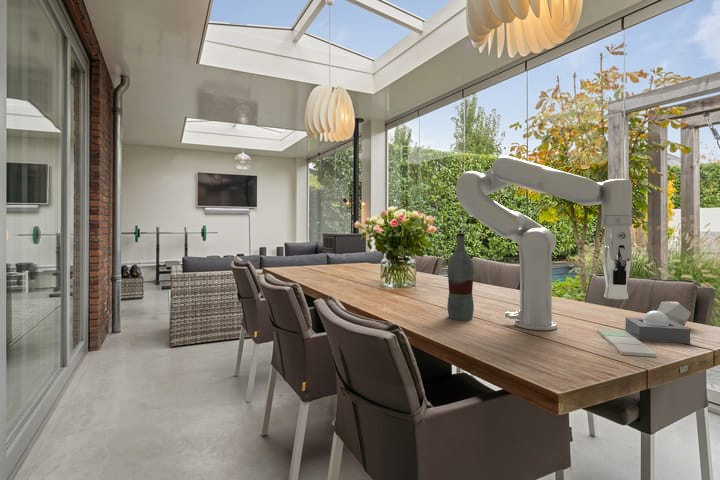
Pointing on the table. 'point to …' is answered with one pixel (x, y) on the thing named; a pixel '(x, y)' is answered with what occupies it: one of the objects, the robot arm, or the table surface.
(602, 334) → the coaster
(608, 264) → the beer glass
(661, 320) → the dome
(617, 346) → the coaster
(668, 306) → the die
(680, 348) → the table surface
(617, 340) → the coaster
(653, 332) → the box
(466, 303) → the bottle
